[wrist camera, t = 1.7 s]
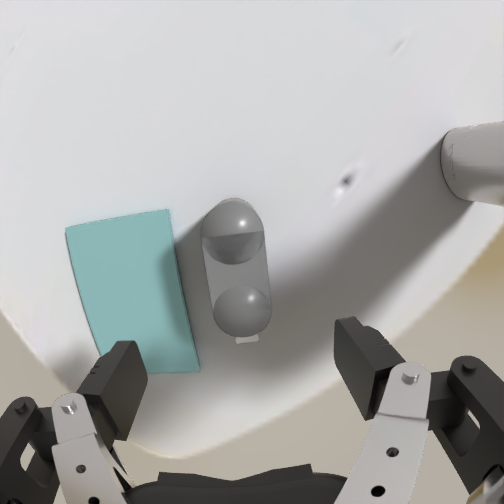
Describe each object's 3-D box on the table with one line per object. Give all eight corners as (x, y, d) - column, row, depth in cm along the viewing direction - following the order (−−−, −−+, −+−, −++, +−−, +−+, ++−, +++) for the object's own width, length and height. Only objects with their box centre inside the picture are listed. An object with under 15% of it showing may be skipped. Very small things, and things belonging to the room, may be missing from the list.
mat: (168, 208, 26) (166, 209, 25) (200, 367, 30) (199, 371, 29) (68, 227, 25) (65, 228, 24) (110, 368, 30) (107, 372, 29)
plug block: (254, 195, 26) (260, 199, 19) (266, 314, 29) (275, 351, 22) (207, 201, 26) (196, 206, 19) (224, 319, 28) (221, 357, 22)
